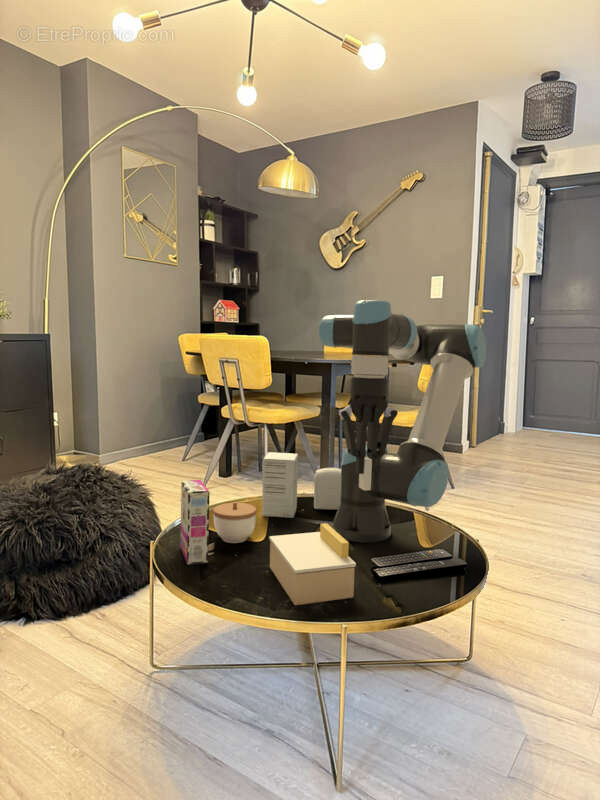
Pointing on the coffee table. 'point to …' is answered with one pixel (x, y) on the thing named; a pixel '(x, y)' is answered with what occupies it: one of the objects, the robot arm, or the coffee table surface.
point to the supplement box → (279, 484)
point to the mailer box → (312, 581)
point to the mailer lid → (314, 550)
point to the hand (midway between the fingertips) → (364, 488)
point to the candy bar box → (194, 521)
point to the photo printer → (327, 488)
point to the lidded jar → (234, 521)
